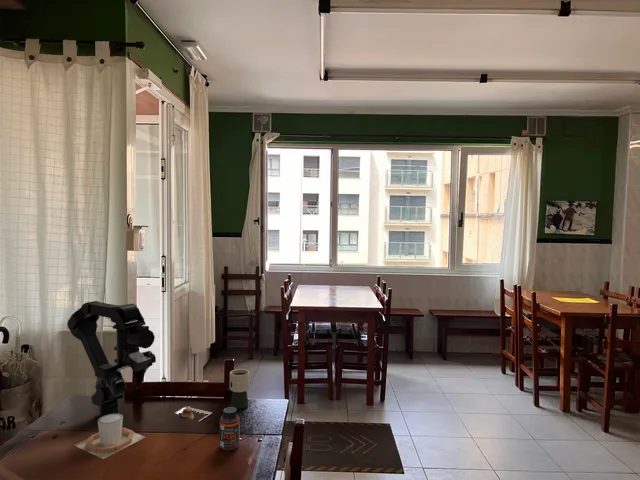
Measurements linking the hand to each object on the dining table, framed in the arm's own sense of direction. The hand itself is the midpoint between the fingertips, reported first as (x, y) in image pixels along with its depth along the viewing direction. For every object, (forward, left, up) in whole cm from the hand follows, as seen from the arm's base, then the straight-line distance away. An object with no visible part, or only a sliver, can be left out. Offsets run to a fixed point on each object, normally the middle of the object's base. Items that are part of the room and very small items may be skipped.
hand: (127, 390), depth 140 cm
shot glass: (+6, -10, -11) cm, 16 cm away
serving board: (+6, -10, -12) cm, 17 cm away
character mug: (+22, +30, -12) cm, 39 cm away
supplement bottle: (+37, +8, -12) cm, 40 cm away
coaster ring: (+6, -10, -11) cm, 16 cm away
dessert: (+12, +14, -13) cm, 23 cm away
